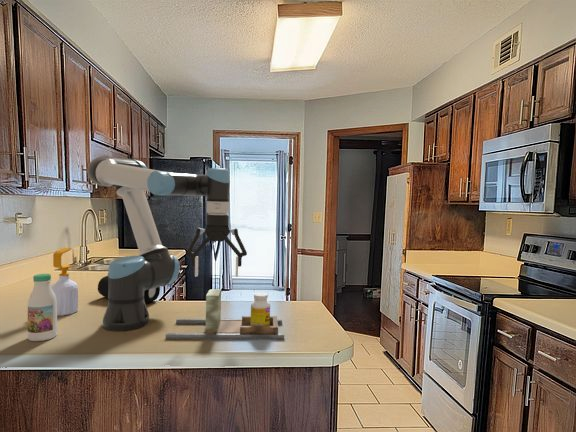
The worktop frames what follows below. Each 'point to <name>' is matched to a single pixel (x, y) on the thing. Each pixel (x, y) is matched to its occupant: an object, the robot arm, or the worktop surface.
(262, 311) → the supplement bottle
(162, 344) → the worktop surface
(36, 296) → the milk bottle
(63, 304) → the soap bottle
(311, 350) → the worktop surface
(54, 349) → the worktop surface
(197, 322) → the lane rails
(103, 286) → the portable speaker
